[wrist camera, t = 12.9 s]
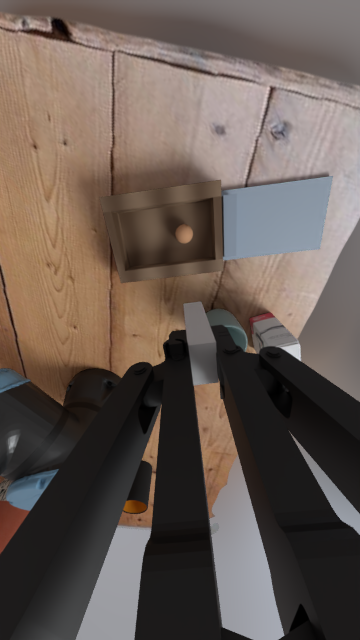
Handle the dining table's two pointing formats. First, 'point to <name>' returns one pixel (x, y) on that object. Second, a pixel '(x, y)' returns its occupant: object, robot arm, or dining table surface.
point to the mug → (139, 490)
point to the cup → (228, 325)
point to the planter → (8, 516)
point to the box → (165, 231)
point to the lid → (274, 218)
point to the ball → (184, 233)
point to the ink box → (273, 335)
